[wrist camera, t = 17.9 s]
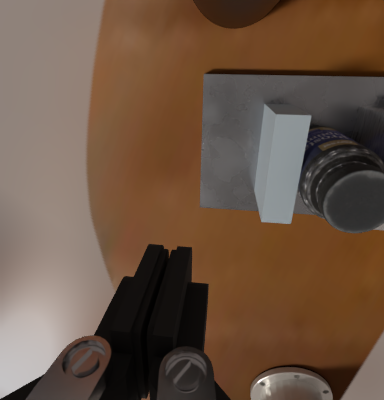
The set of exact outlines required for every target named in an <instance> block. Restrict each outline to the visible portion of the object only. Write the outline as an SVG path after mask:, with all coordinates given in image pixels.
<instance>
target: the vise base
mask: <svg viewBox="0 0 384 400" xmlns="http://www.w3.org/2000/svg"><path fill="white" fill-rule="evenodd" d="M264 104H290V105H293V106H295V107H297V108H299V109H301V110H302V111H304V112H306V113H308V114H310V115H312V116H311V121H310V126H309V128H312V127H317V126H325V127H328V128H332V129H335V130H337V131H339V132H340V133H342V134H344V135H346V136H347V137H349V138H351V139H352V140H354V141H356V142H357V143H359V144H361V145H363V146H364V147H366V148H368V149H370V150H371V151H373V152H374V153H376V154H377V155H378V156H379V157H380V159H381V160H382V161H383V162H384V77H355V76H298V75H240V74H204V86H203V120H202V154H201V188H200V207H204V208H219V209H235V210H250V211H259V209H258V205H257V200H256V196H255V191H254V188H255V180H256V171H257V163H258V155H259V146H260V138H261V130H262V121H263V113H264ZM293 213H297V214H312V215H315V214H314V213H312V212H311V211H310V210H309V209H308V208H307V206H306V205H305V204H304V202H303V200H302V198H301V196H300V194H299V192H298V191H297V194H296V199H295V205H294V210H293ZM374 230H384V224H382V225H381V226H379V227H377V228H375V229H374Z"/></svg>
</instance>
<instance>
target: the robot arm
mask: <svg viewBox="0 0 384 400" xmlns="http://www.w3.org/2000/svg"><path fill="white" fill-rule="evenodd" d="M191 280H192V247H180V246H178V247H177V250H172V251H171V254H170V257H169V251H168V249H164V246H163V245H155V244H149V245H148V247H147V249H146V251H145V253H144V256H143V258H142V260H141V262H140V264H139V267H138V269H137V271H136V273H135V275H134V277H128V276H125V277H124V278H123V279H122V281H121V283H120V285H119V287H118V289H117V291H116V293H115V295H114V297H113V299H112V301H111V303H110V304H109V306H108V309H107V311H106V312H105V314H104V316H103V318H102V321H101V323H100V324H99V326H98V329H97V330H96V332H95V334H94V336H93V335H92V336H84V337H82V338H79V339H76V340H75V341H73V342H72V343H70V344H69V345H67V347H66V348H65V349H64V350H63V351H62V352H61V353H60V355H59V356H58V357H57V358H56V360H55V361H54V362H53V364H52V365H51V366H50V368H49V369H48V370H47V372H46V373H45V374H44V375H42V376H41V377H39V378H37V379H35V380H33V381H32V382H30V383H28V384H26V385H25V386H23V387H21V388H19V389H17V390H16V391H14V392H12V393H10V394H9V395H7V396H5V397H3V398H1V399H0V400H141V398H147V396H148V393H150V400H231V399H230V398H229V397H228V396H227V395H226V394H225V392H224V391H223V390H222V389H221V388H220V386H219V385H218V384H217V383H216V382H215V381H214V373H213V367H212V364H211V361H210V360H209V358H208V356H207V355H206V354H205V353H204V343H205V331H206V319H207V304H208V284H204V283H193V282H191ZM250 392H251V400H333V396H332V392H331V389H330V386H329V384H328V383H327V381H326V380H325V379H324V378H323V377H321V376H320V375H318V374H316V373H314V372H312V371H310V370H306V369H303V368H297V367H281V368H275V369H271V370H268V371H266V372H264V373H262V374H260V375H259V376H258V377H257V378H256V379H255V380H254V381H253V383H252V385H251V391H250Z"/></svg>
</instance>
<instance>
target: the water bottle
mask: <svg viewBox="0 0 384 400" xmlns="http://www.w3.org/2000/svg"><path fill="white" fill-rule="evenodd" d="M193 1H194V3H195V4H196V6H197V7H198V9H199V10H200V12H201V13H202V14H203V15H204V16H205V17H206V18H207V19H208V20H210V21H211V22H213V23H214V24H216V25H219V26H221V27H225V28H243V27H246V26H249V25H252V24H254V23H256V22H257V21H259V20H260V19H262V18H263V17H264V16H266V15H267V14H268V13H269V12H270V11H271V10H272V8H273V7H274V6H275V5H276V4H277V3H278V2H279V1H280V0H193Z"/></svg>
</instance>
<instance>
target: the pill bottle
mask: <svg viewBox="0 0 384 400" xmlns="http://www.w3.org/2000/svg"><path fill="white" fill-rule="evenodd" d="M297 191H298V192H299V194H300V196H301V198H302V200H303V202H304V204H305V205H306V206H307V208H308V209H309V210H310V211H311V212H312V213H314V214H315V215H317V216H319V217H321V218H324V219H326V221H327V222H328V223H329V224H330V225H331V226H333V227H334V228H336V229H338V230H340V231H343V232H348V233H362V232H366V231H370V230H373V229H375V228H377V227H379V226H381V225H382V224H384V162H383V161H382V160H381V159H380V157H379V156H378V155H377V154H376V153H374V152H373V151H371V150H370V149H368V148H366V147H364V146H363V145H361V144H359V143H357V142H356V141H354V140H352V139H351V138H349V137H347V136H346V135H344V134H342V133H340V132H339V131H337V130H335V129H332V128H328V127H325V126H317V127H312V128H309V131H308V137H307V142H306V147H305V152H304V158H303V163H302V168H301V173H300V178H299V184H298V189H297Z"/></svg>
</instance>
